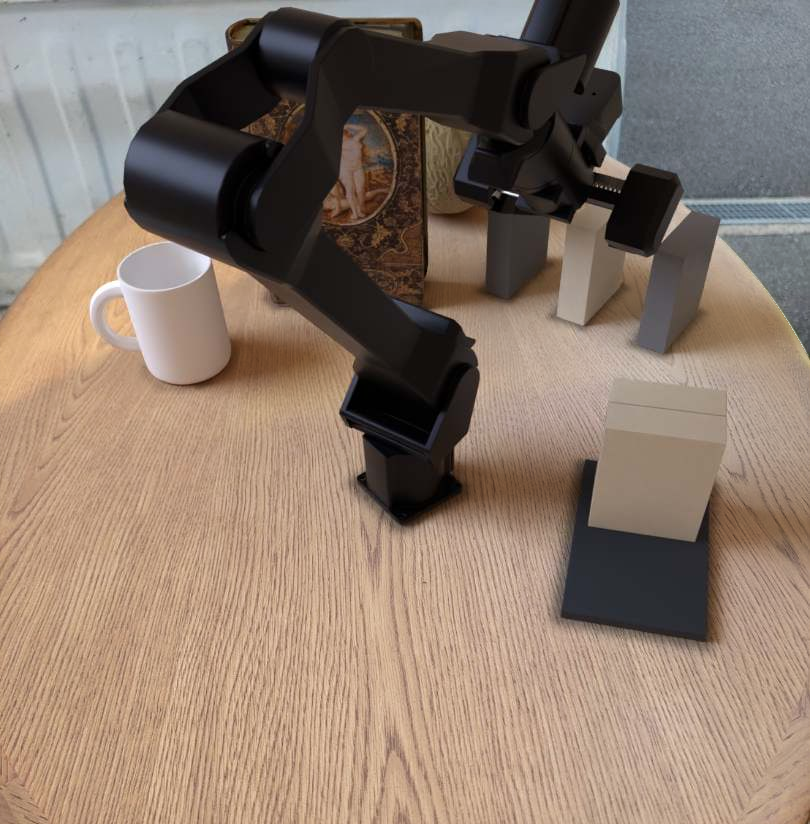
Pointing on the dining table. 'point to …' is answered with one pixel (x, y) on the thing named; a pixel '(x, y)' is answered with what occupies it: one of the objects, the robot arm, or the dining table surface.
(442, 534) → the dining table surface
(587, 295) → the cream book
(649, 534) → the book mat
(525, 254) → the grey books
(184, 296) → the mug
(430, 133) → the cantaloupe
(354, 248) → the book
